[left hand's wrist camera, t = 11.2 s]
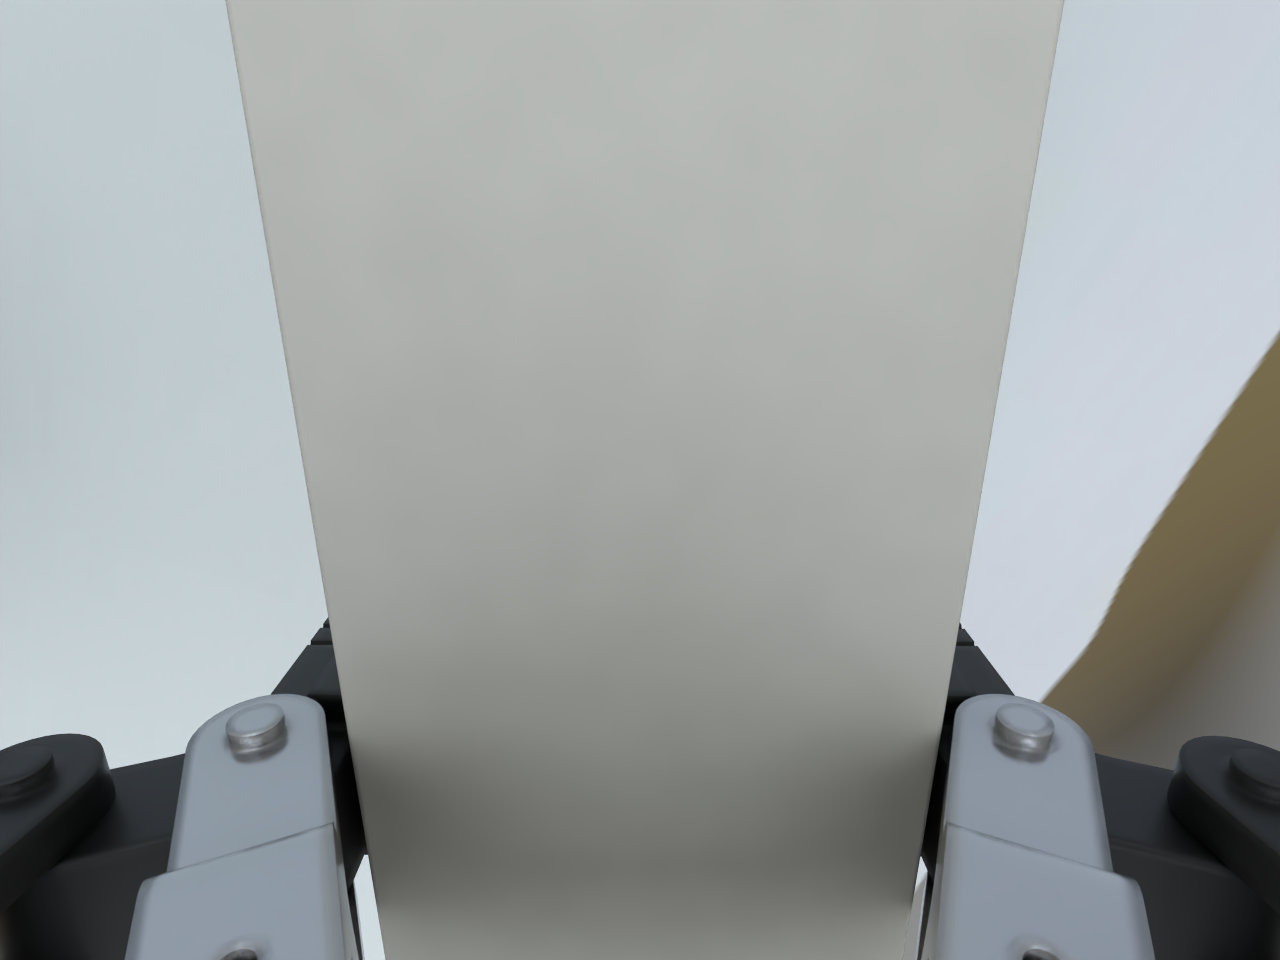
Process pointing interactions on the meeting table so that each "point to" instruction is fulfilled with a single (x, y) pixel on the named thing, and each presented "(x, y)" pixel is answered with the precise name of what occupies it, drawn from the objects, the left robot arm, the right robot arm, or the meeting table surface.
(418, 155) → the box
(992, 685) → the left robot arm
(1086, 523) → the meeting table surface
